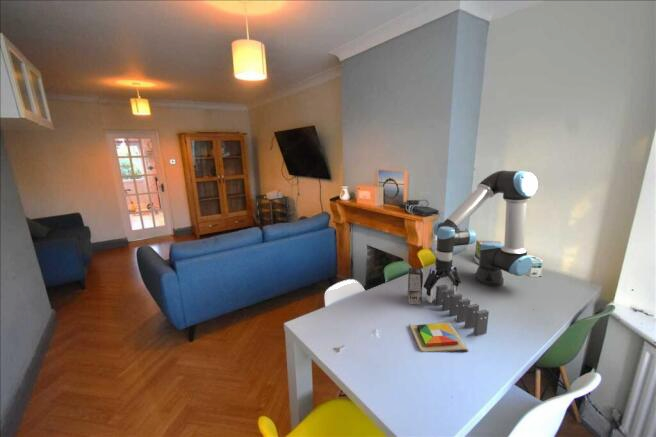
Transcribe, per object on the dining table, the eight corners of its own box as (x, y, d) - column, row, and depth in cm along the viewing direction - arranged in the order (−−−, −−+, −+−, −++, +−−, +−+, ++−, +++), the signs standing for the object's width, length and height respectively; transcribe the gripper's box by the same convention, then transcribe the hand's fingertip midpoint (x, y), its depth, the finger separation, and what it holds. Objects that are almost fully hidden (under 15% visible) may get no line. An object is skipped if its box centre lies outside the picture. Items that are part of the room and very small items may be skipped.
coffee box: (421, 305, 143) (423, 274, 139) (408, 303, 144) (409, 274, 141) (419, 296, 151) (421, 267, 148) (407, 295, 153) (408, 267, 149)
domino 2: (441, 309, 139) (443, 290, 136) (450, 307, 140) (452, 288, 138) (444, 311, 137) (446, 292, 134) (453, 309, 138) (455, 290, 136)
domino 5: (464, 326, 124) (466, 305, 122) (473, 324, 126) (476, 303, 124) (468, 329, 123) (470, 307, 120) (477, 326, 124) (479, 306, 122)
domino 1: (435, 304, 143) (436, 285, 141) (443, 302, 145) (445, 284, 142) (437, 306, 141) (439, 287, 139) (446, 304, 143) (447, 286, 140)
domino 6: (473, 333, 120) (475, 311, 118) (482, 330, 121) (485, 309, 119) (477, 335, 118) (479, 314, 116) (486, 333, 119) (489, 312, 117)
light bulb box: (541, 277, 172) (544, 260, 169) (530, 277, 172) (532, 260, 170) (529, 270, 182) (531, 254, 180) (518, 270, 182) (520, 254, 180)
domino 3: (448, 314, 134) (450, 295, 132) (457, 312, 135) (459, 293, 133) (451, 316, 132) (453, 297, 130) (460, 315, 133) (462, 295, 131)
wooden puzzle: (408, 326, 126) (408, 319, 125) (451, 326, 126) (451, 319, 125) (419, 353, 109) (420, 345, 108) (469, 353, 109) (470, 345, 108)
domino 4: (456, 320, 129) (458, 300, 127) (465, 318, 131) (467, 298, 128) (459, 322, 127) (461, 302, 125) (468, 320, 129) (470, 300, 126)
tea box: (478, 265, 191) (481, 244, 188) (473, 260, 201) (475, 240, 198) (503, 266, 189) (505, 245, 186) (497, 261, 199) (499, 240, 195)
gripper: (459, 253, 145) (456, 291, 149) (417, 259, 138) (415, 299, 143) (471, 258, 138) (467, 298, 142) (426, 264, 131) (424, 306, 135)
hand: (441, 299), depth 142 cm, fingers open, 13 cm apart
